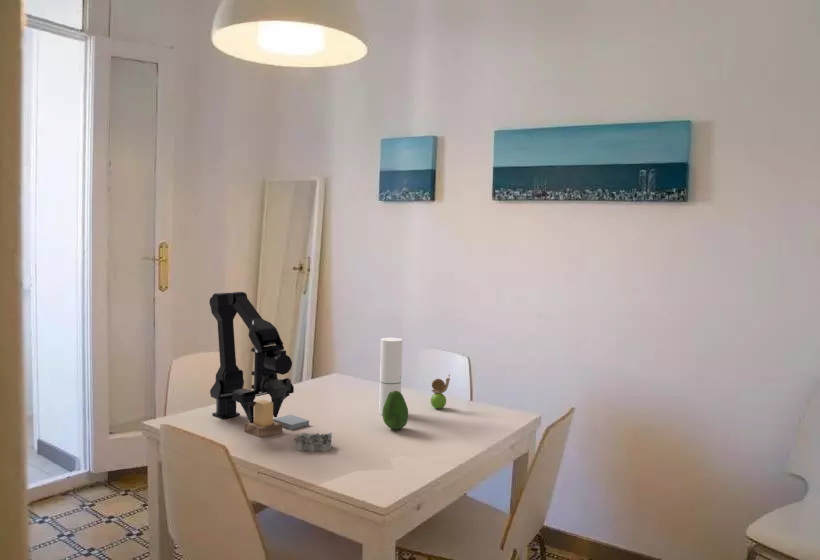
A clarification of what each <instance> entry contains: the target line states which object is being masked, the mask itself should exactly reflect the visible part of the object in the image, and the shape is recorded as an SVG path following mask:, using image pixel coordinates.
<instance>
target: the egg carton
mask: <svg viewBox="0 0 820 560" xmlns="http://www.w3.org/2000/svg"><path fill="white" fill-rule="evenodd" d="M332 433H333V432H329V433H321V434H320V433H319V432H318V433H310V434H309V433H305V432H301V433H299V434H297V435H296V436H295V438H294V442H293V443H294V451H298V452H305V451H309V452H315V451H321V452H325V453H326V452H328V451H331V447H332V439H333V438H332V437H333V434H332Z"/></svg>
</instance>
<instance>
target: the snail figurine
mask: <svg viewBox="0 0 820 560" xmlns="http://www.w3.org/2000/svg"><path fill="white" fill-rule="evenodd" d="M450 376H451V375H450V374H448V377H446V378H445V381H444V380H442V379H441V378H435V379H434V380H432V382H431V387H432V389H431V392H432V393H434V394H432V396H431V398H430V404H431V406H432V407H433V408H435V409H438V410H441V409H443V408H444V407H446V404H447V397H446V396H445V394H443V393H446V392H447V390H448V387H449V384H450V381H451V378H450Z"/></svg>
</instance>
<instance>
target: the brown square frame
mask: <svg viewBox="0 0 820 560" xmlns="http://www.w3.org/2000/svg"><path fill="white" fill-rule="evenodd" d="M282 425H283V424H282V423H279V422H276V421H273V424H272V425H269V426H265V427H262V426H259V425H256V424H254V420H253V423H250V422H249V421H247V422H244V425H243V426H244V427H243V428H244V432H246V433H249V434H252V435H254V436H257V437H259V438H265V437H269V436H273V435H276V434H279V433H283V427H282Z"/></svg>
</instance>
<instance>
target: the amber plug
mask: <svg viewBox="0 0 820 560" xmlns="http://www.w3.org/2000/svg"><path fill="white" fill-rule="evenodd" d="M254 401H255V400H254ZM255 402H256V404H255V405H254V420H253V421H254V424H256V425H259V426H262V427H265V426H269V425H272V424H273V419H274V416H273V402H272V401H270V400H266V399H262V400H261V399H260V400H256V401H255Z"/></svg>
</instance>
